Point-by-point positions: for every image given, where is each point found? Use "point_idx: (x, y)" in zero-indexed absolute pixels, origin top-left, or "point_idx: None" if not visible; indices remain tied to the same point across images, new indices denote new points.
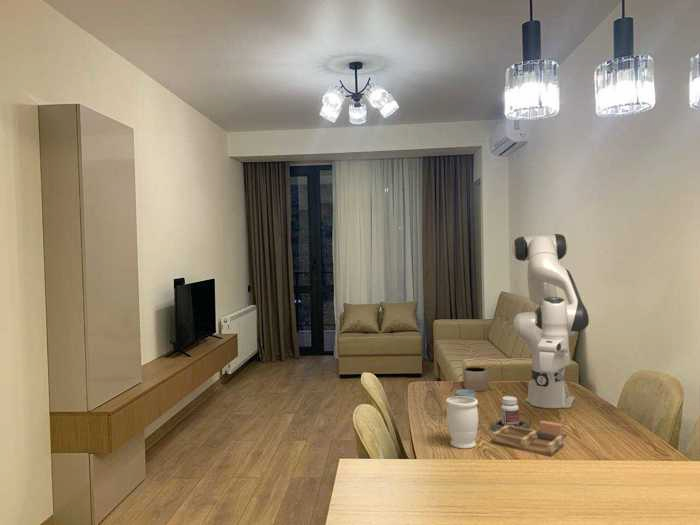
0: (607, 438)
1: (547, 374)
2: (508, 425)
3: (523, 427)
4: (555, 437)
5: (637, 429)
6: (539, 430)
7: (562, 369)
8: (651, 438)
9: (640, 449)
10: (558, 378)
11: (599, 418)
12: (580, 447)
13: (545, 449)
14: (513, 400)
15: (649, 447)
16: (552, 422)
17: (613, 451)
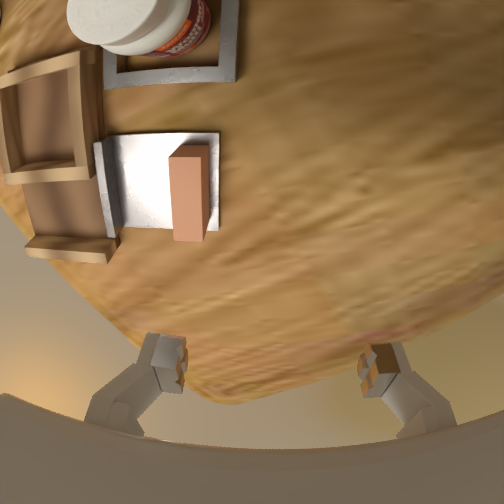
0: (270, 318)
1: (95, 399)
2: (76, 60)
3: (156, 83)
4: (109, 233)
5: None
6: (203, 133)
7: (401, 430)
8: (320, 374)
9: (230, 369)
10: (367, 352)
11: (454, 268)
12: (147, 280)
13: (46, 224)
14: (84, 41)
15: (254, 377)
16: (199, 203)
17: None
